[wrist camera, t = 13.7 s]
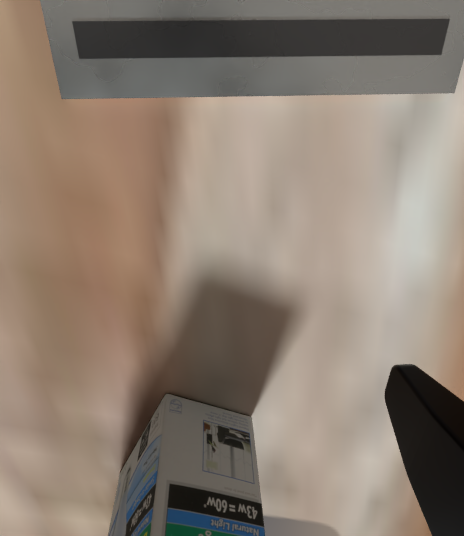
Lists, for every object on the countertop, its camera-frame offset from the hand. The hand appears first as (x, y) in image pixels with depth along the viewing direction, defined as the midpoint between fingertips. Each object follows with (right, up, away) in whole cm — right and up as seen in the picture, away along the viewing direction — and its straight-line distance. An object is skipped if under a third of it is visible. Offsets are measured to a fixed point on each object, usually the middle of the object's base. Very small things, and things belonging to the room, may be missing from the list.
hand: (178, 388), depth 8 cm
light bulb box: (-3, -11, +21) cm, 24 cm away
